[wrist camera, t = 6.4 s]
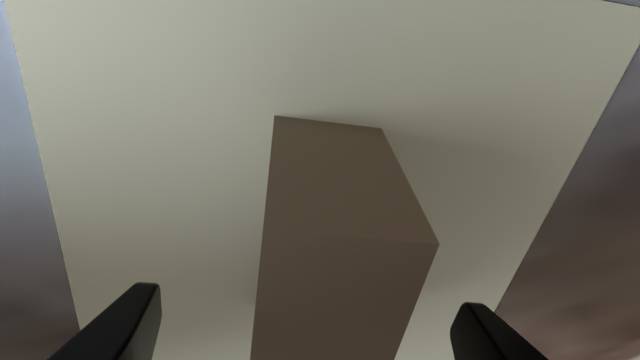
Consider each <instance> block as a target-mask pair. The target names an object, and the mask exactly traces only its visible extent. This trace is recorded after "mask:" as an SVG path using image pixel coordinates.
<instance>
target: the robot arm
mask: <svg viewBox="0 0 640 360" xmlns="http://www.w3.org/2000/svg"><path fill="white" fill-rule="evenodd" d="M161 318H162V306H161V291H160V286H159V284H157V283H149V282H137V283H135V284H133V285H132V286H131V287H130V288H129V289H128V290H126V291H125V292H124V293H123V294H122V295H121V296H120V297H118V298H117V299H116V300H115V301H114V302H113V303H111V304H110V305H109V306H108V307H107V308H106V309H105V310H103V311H102V312H101V313H100V314H99V315H98V316H96V317H95V318H94V319H93V320H92V321H91V322H90V323H88V324H87V325H86V326H85V327H84V328H83V329H82V330H80V331H79V332H78V333H77V334H76V335H75V336H73V337H72V338H71V339H70V340H69V341H68V342H67V343H65V344H64V345H63V346H62V347H61V348H60V349H59V350H57V351H56V352H55V353H54V354H53V355H52V356H50V357H49V358H48V359H47V360H152V356H153V352H154V348H155V344H156V340H157V336H158V332H159V328H160V324H161ZM450 341H451V345H452V350H453V354H454V359H455V360H548V359H547V358H546V357H545V356H544V355H542V354H541V353H540V352H539V351H538V350H537V349H536V348H534V347H533V346H532V345H531V344H530V343H529V342H528V341H526V340H525V339H524V338H523V337H522V336H521V335H519V334H518V333H517V332H516V331H515V330H514V329H513V328H511V327H510V326H509V325H508V324H507V323H506V322H504V321H503V320H502V319H501V318H500V317H499V316H498V315H496V314H495V313H494V312H493V311H492V310H491V309H489V308H488V307H487V306H486V305H484V304H482V303H475V302H464V303H463V304H462V305H461V306H460V308H459V311H458V313H457V315H456V317H455V319H454V321H453V323H452V325H451V328H450Z"/></svg>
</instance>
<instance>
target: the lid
mask: <svg viewBox="0 0 640 360" xmlns="http://www.w3.org/2000/svg"><path fill="white" fill-rule="evenodd" d="M4 3H5V8H6V12H7V16H8V21H9V25H10V29H11V34H12V38H13V42H14V46H15V51H16V55H17V59H18V64H19V68H20V72H21V77H22V81H23V85H24V90H25V94H26V98H27V103H28V107H29V111H30V116H31V120H32V124H33V129H34V133H35V137H36V142H37V146H38V150H39V155H40V159H41V163H42V168H43V172H44V176H45V181H46V185H47V189H48V194H49V198H50V202H51V207H52V211H53V215H54V220H55V224H56V228H57V233H58V237H59V241H60V246H61V250H62V254H63V259H64V263H65V267H66V271H67V276H68V280H69V284H70V289H71V293H72V297H73V302H74V306H75V310H76V315H77V319H78V323H79V328H80V330H82V329H83V328H84V327H85V326H86V325H87V324H88V323H90V322H91V321H92V320H93V319H94V318H95V317H96V316H98V315H99V314H100V313H101V312H102V311H103V310H105V309H106V308H107V307H108V306H109V305H110V304H111V303H113V302H114V301H115V300H116V299H117V298H118V297H120V296H121V295H122V294H123V293H124V292H125V291H126V290H128V289H129V288H130V287H131V286H132V285H133V284H135V283H137V282H149V283H157V284H159V286H160V291H161V306H162V318H161V324H160V328H159V332H158V336H157V340H156V344H155V348H154V352H153V356H152V360H455V359H454V354H453V350H452V345H451V341H450V328H451V325H452V323H453V321H454V319H455V317H456V315H457V313H458V311H459V308H460V306H461V305H462V304H463V303H464V302H475V303H482V304H484V305H486V306H487V307H488V308H489V309H491V310H492V311H493V312H494V311H495V310H496V308H497V306H498V304H499V302H500V300H501V299H502V297H503V295H504V293H505V291H506V289H507V287H508V286H509V284H510V282H511V280H512V278H513V276H514V275H515V273H516V271H517V269H518V267H519V265H520V264H521V262H522V260H523V258H524V256H525V254H526V253H527V251H528V249H529V247H530V245H531V243H532V242H533V240H534V238H535V236H536V234H537V232H538V230H539V229H540V227H541V225H542V223H543V221H544V219H545V218H546V216H547V214H548V212H549V210H550V208H551V207H552V205H553V203H554V201H555V199H556V197H557V196H558V194H559V192H560V190H561V188H562V186H563V185H564V183H565V181H566V179H567V177H568V175H569V173H570V172H571V170H572V168H573V166H574V164H575V162H576V161H577V159H578V157H579V155H580V153H581V151H582V150H583V148H584V146H585V144H586V142H587V140H588V139H589V137H590V135H591V133H592V131H593V129H594V128H595V126H596V124H597V122H598V120H599V118H600V116H601V115H602V113H603V111H604V109H605V107H606V105H607V104H608V102H609V100H610V98H611V96H612V94H613V93H614V91H615V89H616V87H617V85H618V83H619V82H620V80H621V78H622V76H623V74H624V72H625V71H626V69H627V67H628V65H629V63H630V61H631V59H632V58H633V56H634V54H635V52H636V50H637V48H638V47H639V45H640V7H635V6H630V5H624V4H619V3H613V2H607V1H602V0H4Z"/></svg>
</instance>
